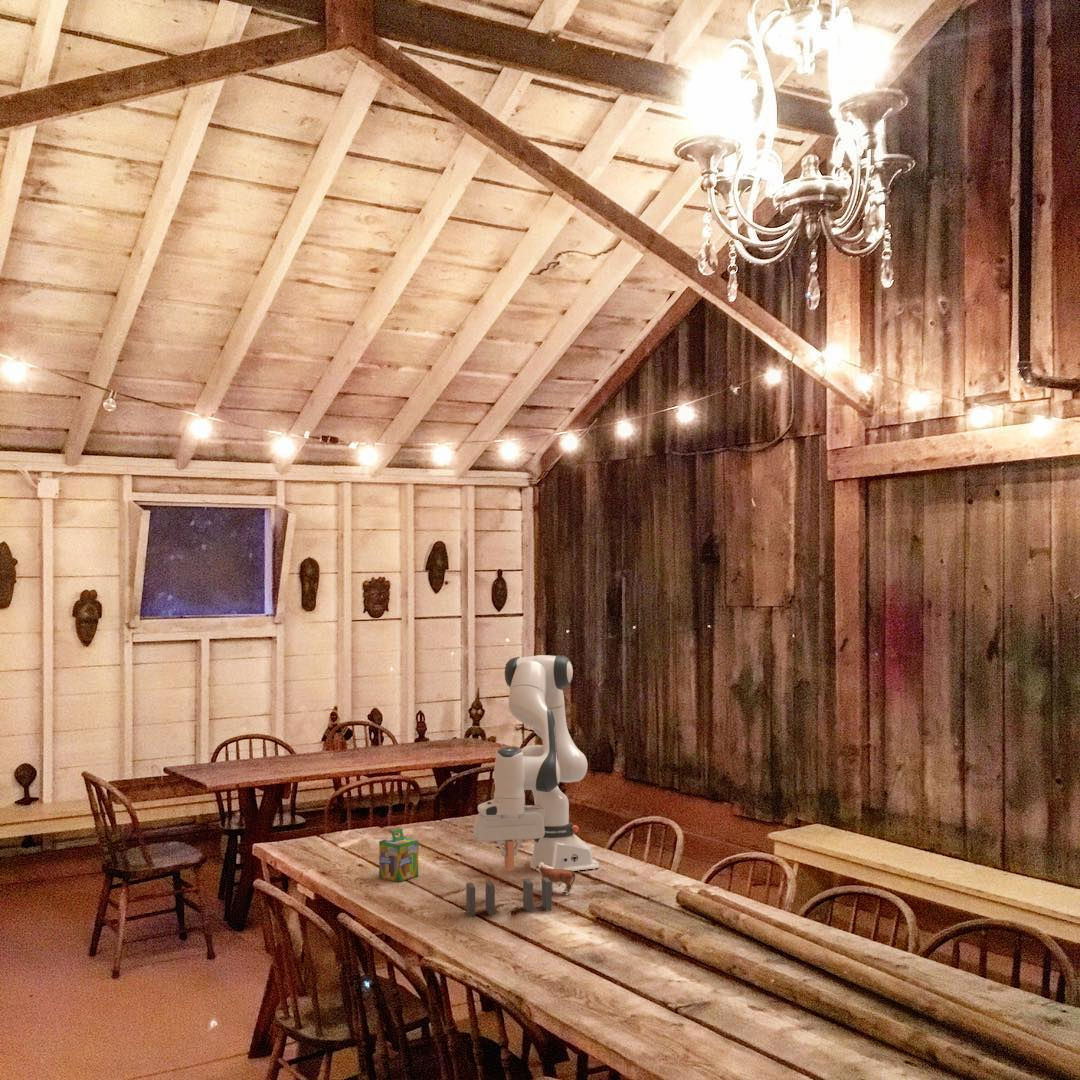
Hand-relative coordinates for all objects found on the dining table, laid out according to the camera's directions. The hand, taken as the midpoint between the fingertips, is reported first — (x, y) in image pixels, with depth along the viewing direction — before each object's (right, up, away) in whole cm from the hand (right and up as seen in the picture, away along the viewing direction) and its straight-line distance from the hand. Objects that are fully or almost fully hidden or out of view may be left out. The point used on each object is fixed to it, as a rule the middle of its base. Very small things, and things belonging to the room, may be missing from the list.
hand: (509, 855), depth 307 cm
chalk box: (-36, -17, +34) cm, 52 cm away
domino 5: (+11, -16, +2) cm, 19 cm away
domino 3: (0, -4, 0) cm, 4 cm away
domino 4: (+5, -16, +1) cm, 16 cm away
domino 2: (-5, -15, -2) cm, 16 cm away
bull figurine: (+13, -17, +18) cm, 28 cm away
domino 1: (-11, -15, -3) cm, 19 cm away
